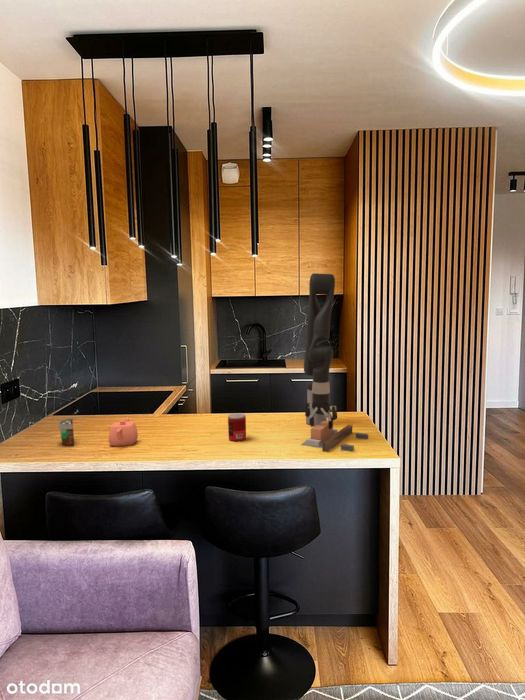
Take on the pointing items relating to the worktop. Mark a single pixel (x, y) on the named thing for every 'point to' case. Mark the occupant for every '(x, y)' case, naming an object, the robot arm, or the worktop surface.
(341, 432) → the door edge
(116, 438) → the teapot
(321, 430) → the bar
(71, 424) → the food container
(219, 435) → the worktop surface
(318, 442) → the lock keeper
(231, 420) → the canned food
